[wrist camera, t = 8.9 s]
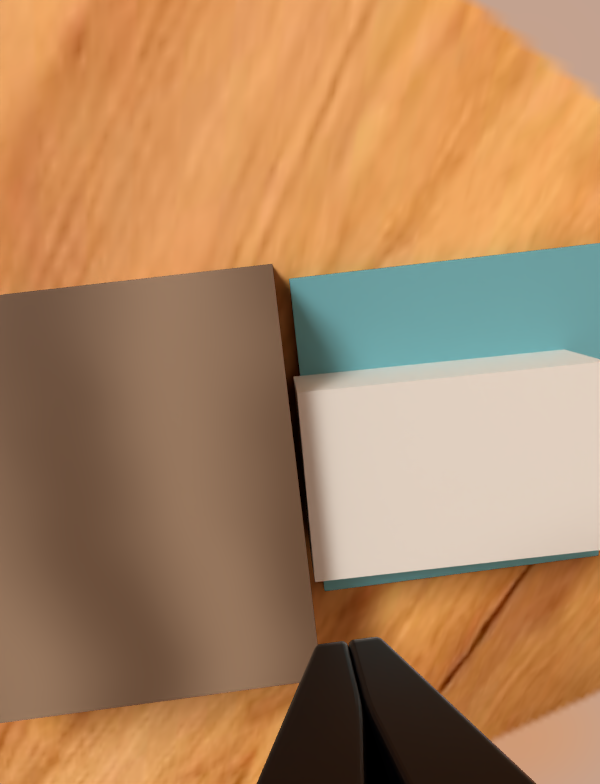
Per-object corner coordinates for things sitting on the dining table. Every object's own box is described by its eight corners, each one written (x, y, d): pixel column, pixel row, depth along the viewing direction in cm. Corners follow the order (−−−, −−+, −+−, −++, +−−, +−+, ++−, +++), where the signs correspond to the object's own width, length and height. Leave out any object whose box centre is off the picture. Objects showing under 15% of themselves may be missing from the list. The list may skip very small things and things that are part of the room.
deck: (-21, 644, 20) (-91, 735, 16) (-114, 308, 17) (-224, 320, 13) (311, 600, 20) (322, 679, 16) (271, 264, 18) (272, 263, 14)
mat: (324, 586, 20) (324, 591, 20) (289, 278, 18) (289, 278, 18) (593, 551, 21) (598, 555, 20) (596, 243, 18) (601, 243, 18)
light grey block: (309, 544, 20) (314, 582, 17) (293, 376, 18) (296, 392, 16) (562, 516, 20) (600, 549, 17) (563, 349, 18) (606, 361, 16)
